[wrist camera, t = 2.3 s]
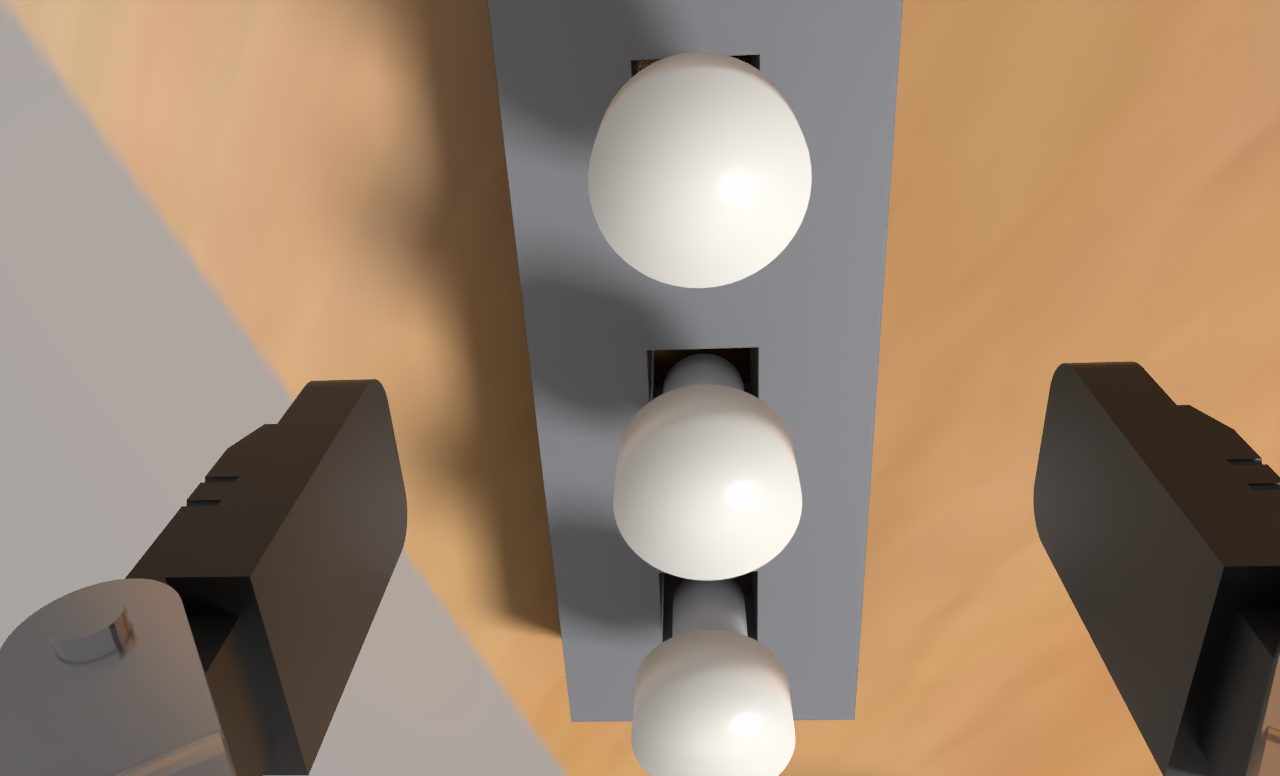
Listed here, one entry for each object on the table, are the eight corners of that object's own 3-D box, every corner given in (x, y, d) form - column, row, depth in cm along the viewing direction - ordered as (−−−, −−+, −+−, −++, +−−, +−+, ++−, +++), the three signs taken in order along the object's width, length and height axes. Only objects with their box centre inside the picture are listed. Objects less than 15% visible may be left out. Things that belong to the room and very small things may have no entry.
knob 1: (786, 20, 24) (815, 63, 19) (784, 201, 27) (808, 284, 21) (602, 28, 25) (579, 74, 19) (613, 207, 27) (596, 291, 22)
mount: (879, -112, 26) (910, -108, 23) (839, 640, 38) (854, 719, 35) (505, -90, 27) (478, -84, 23) (581, 643, 39) (571, 721, 35)
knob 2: (778, 543, 32) (797, 679, 27) (776, 652, 34) (794, 797, 29) (636, 546, 32) (626, 681, 27) (643, 653, 34) (635, 797, 29)
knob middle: (782, 316, 28) (804, 421, 23) (780, 454, 30) (799, 579, 25) (621, 321, 28) (606, 426, 23) (630, 457, 31) (618, 582, 25)
